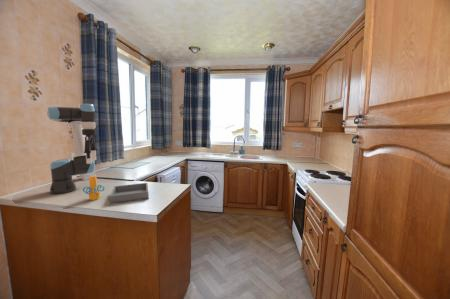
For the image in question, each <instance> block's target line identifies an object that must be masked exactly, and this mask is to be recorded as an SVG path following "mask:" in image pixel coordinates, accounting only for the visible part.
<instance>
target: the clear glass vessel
mask: <svg viewBox="0 0 450 299" xmlns="http://www.w3.org/2000/svg"><path fill="white" fill-rule="evenodd" d="M89 176H96V167H94V171H93V172H92V173H87V174H80V175H79V179H80V180H82V181H87V180H89Z"/></svg>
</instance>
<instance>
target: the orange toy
mask: <svg viewBox="0 0 450 299" xmlns="http://www.w3.org/2000/svg"><path fill="white" fill-rule="evenodd" d="M88 180H89V186H88V185H86V186H84V187H83V188H82V191H83V193H84V194H87V195H88V198H89V200H90V201H94V200H99V199H100V197H101V195H100V194H101V193H100V192H103V191H104V190H105V186H104V185H102V184H101V183H98V178H97V175H95V176H89V179H88Z"/></svg>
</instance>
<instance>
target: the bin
mask: <svg viewBox="0 0 450 299" xmlns="http://www.w3.org/2000/svg"><path fill="white" fill-rule="evenodd" d="M110 192H111V193H110V195H109V202H110V205H112V204H120V203H128V202H135V201H143V200H149V195H150V194H149V184H148V182H144V183H132V184H124V185H115V186H113V188H112V191H110Z"/></svg>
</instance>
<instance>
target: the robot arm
mask: <svg viewBox="0 0 450 299" xmlns="http://www.w3.org/2000/svg"><path fill="white" fill-rule="evenodd" d="M46 115H47V117H48V119H49V120H52V121H55V122H59V123H68V126H70V127H71V134H72V142H73V148H74V154H75V156H74V157H73V158H72V159H71V158H69V157H68V158H62V159H61V158H59V159H56V160H53V161H51V163H50V175H51V185H50V187H49V193H50V194H51V195H61V194H66V193H67V194H68V193H71V192H75V191H76V190H77V186H76V183H75V182H74V180H73V176H78V175H79V176H80V174H87V173H92V172H93V171H94V167H95V165H96V164H95V163H96V162H95V161H97V150H98V148H97V146H96V140H95V136H97V129H96V128H97V125H98V124H97V123H96V112H95V105H94V104H93V103H80V104H79V107H78V106H77V107H71V106H70V107H69V106H68V107H67V106H48V107H47V112H46ZM94 135H95V136H94ZM95 168H96V167H95Z"/></svg>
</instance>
